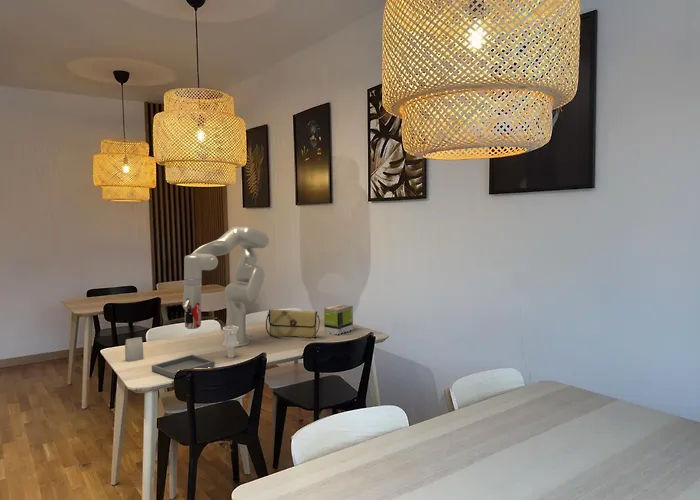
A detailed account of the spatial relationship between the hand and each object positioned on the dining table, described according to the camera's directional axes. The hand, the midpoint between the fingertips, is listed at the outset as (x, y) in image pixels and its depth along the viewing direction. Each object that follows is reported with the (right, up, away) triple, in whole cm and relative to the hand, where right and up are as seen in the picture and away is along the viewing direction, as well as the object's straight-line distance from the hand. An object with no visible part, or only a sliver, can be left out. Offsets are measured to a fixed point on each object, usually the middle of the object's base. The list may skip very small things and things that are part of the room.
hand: (192, 320), depth 212 cm
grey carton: (-27, -18, +1) cm, 33 cm away
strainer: (+15, -18, +7) cm, 25 cm away
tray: (0, -19, -11) cm, 22 cm away
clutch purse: (+40, -16, +42) cm, 60 cm away
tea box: (+65, -15, +57) cm, 88 cm away
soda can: (0, -3, 0) cm, 3 cm away
